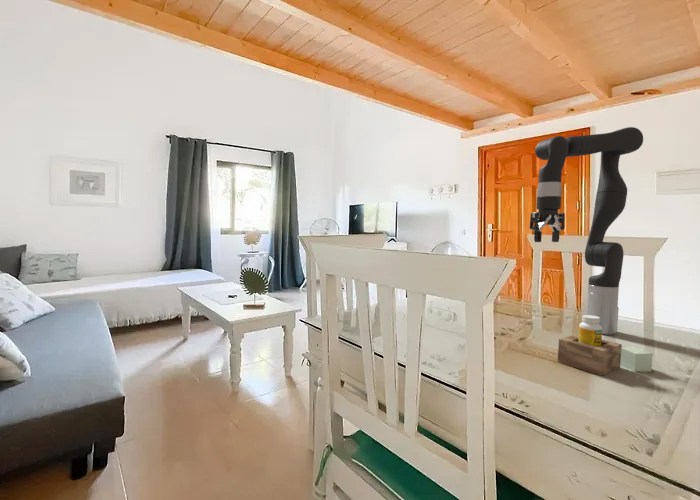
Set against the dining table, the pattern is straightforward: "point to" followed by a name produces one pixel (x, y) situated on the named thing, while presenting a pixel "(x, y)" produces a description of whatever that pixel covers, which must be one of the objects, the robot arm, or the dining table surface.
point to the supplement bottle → (590, 331)
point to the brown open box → (589, 355)
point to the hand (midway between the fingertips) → (546, 242)
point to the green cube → (636, 359)
